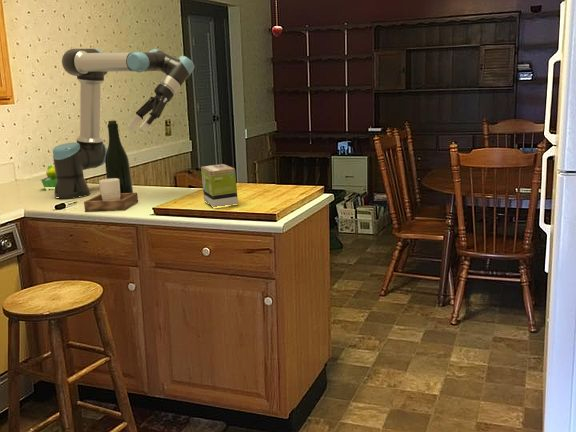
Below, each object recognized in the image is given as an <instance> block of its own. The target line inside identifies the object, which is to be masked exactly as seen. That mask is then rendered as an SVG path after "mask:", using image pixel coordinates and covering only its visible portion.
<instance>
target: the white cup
mask: <svg viewBox="0 0 576 432" xmlns="http://www.w3.org/2000/svg"><path fill="white" fill-rule="evenodd" d="M98 185H99V189H100V194H101V195H102V199H103V201H107V200H121V199H120V182H119V179H117V178H112V179H107V178H103V179H100V180H98Z"/></svg>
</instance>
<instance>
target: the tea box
mask: <svg viewBox="0 0 576 432" xmlns="http://www.w3.org/2000/svg"><path fill="white" fill-rule="evenodd" d="M200 171H201V181H202V189H203V201H206V202H207V203H209V204H210V205H212V206H213V207H217V206H225V205H233V204H238V205H239V200H238V199H239V197H238V188H237V187H238V186H237V178H236V177H237V176H236V175H237V174H236V169H235V168H234V167H232V166H229V165H227V164H224V163H221V164H212V165H206V166H200ZM207 203H206V204H207Z"/></svg>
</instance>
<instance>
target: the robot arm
mask: <svg viewBox="0 0 576 432" xmlns="http://www.w3.org/2000/svg"><path fill="white" fill-rule="evenodd" d="M61 64H62V67H63V68H62V69H64V71H65V72H66V73H67V74H69V75H71V76H73V77H76V80H78V82H79V83H80V88H79V89H80V93H79V94H80V96H79V97H80V100H79V103H80V105H79V107H80V109H79V110H80V111H79V112H80V113H79V115H80V116H79V117H80V118H79V119H80V121H79V136H77V137H76V141H75V142H67V143H61V144H58V145H55V146H54V147H53V149H52V154H53V155H52V158H53V164H54V167H55V172H56V179H57V182H56V187H55V190H54V198H55V197H59V198H71V199H74V198H73V197H79V196H84V195H87V196H89V195H90V194H91V191H90V188H89V185H88V184H87V181H86V179H85V176H84V171H85V170H90V169H95V168H96V169H97V168H99V167H101V166H103V165H105V158H106V153H107V149H108V147H107V146H106V144H105V143H104V139H102V137H101V134H100V133H101V132H100V131H101V130H100V129H101V126H100V125H101V84H103V83H104V81H105V75H107V74H108V72H136V73H141V72H142V73H143V72H161V73H163V74H165V75H164V76H163V78H162V79H161V80H160V82H159V83H158V85H157V86H156V87H155V89H154V91H153V92H154V93H155V96H150V98H149V99H148V100H147V101H146V102H145V103H144V104H143V105H142V106H141V107H139V109H138V110H137V111H136V112H135V114H136V115H135V116H134V117H133V118H132V119H131V121H130V122H129V124H128V125H127V126H126V127H127V128H128V129H129V130H130V131H131V132H133V131H134V130H135V129H136V128H137V126H138V125H139V124H140V122H141V121H143V120H144V117H145V116H146V115H147V114H148V113H149V114H148V116H146V118H145V120H144V121H143V122H142V124H141V125H140V126H139V129H140V130H141V131H142V132H143V133H146V132H147V131H148V129H149V128H150V127H151V126H152V124H153V123H154V121H155V120H156V119H159V118H160V117H161V116H162V113H163V111H164V109H165V107H166V106H167V104H168V103H169V102H170V101H171V100H172V99H173V97H174V95H176V93H177V92H180V88H181V87H182V85H183V84H184V83H185V82H186V80H187V79H188V78H189V77H191V74H192V72H193V71H194V69H195V64H194V63H193V61H192V60H191V59H190V58H189V57H188V56H185V55H180V56H179V57H178V58H175V57H174V56H171V55H169V54H167V53H166V52H164V51H162V50H160V49H158V48H152V49H151V50H149V52H147V51H145V52H144V51H134V52H127V51H126V52H105V51H102V50H100V49H99V48H98V49H97V48H70V49H69V50H68V49H67V51H65V52H64V54H63V55H62V59H61ZM88 194H89V195H88ZM84 197H85V196H84ZM79 198H80V197H79Z"/></svg>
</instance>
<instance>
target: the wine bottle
mask: <svg viewBox="0 0 576 432" xmlns="http://www.w3.org/2000/svg"><path fill="white" fill-rule="evenodd" d="M107 122H108V123H107V125H106V126H107V127H106V128H107V132H108V144H107V153H106V158H105V163H104V165H105V175H106V179H112V178H117V179H119V182H120V193H134V187H133V182H132V181H133V180H132V173H131V167H130V162H129V157H128V154H127V152H126V151H125V148H124V146H123V144H122V141H121V138H120V132H119V131H120V130H119V124H118V123H117V120H108V121H107Z"/></svg>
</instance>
